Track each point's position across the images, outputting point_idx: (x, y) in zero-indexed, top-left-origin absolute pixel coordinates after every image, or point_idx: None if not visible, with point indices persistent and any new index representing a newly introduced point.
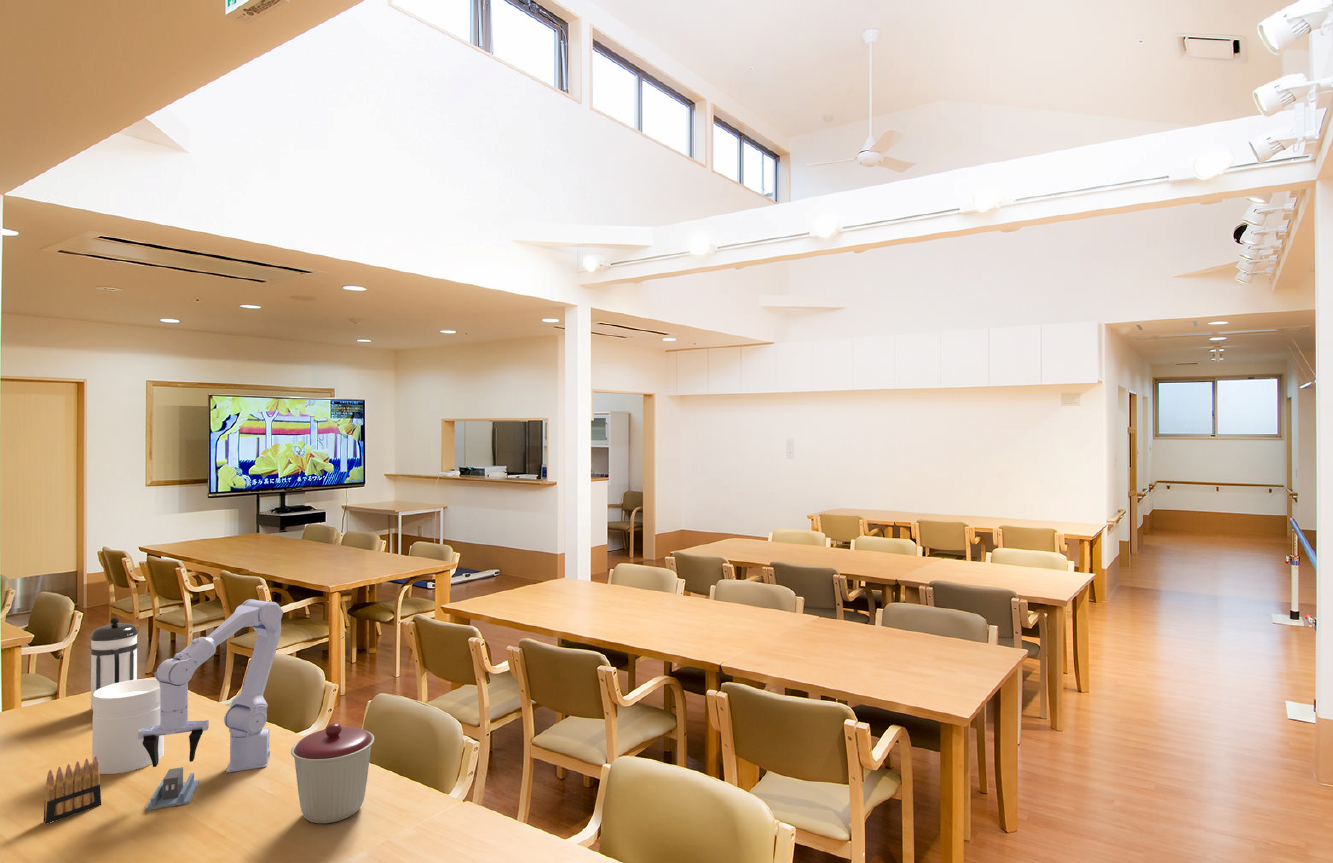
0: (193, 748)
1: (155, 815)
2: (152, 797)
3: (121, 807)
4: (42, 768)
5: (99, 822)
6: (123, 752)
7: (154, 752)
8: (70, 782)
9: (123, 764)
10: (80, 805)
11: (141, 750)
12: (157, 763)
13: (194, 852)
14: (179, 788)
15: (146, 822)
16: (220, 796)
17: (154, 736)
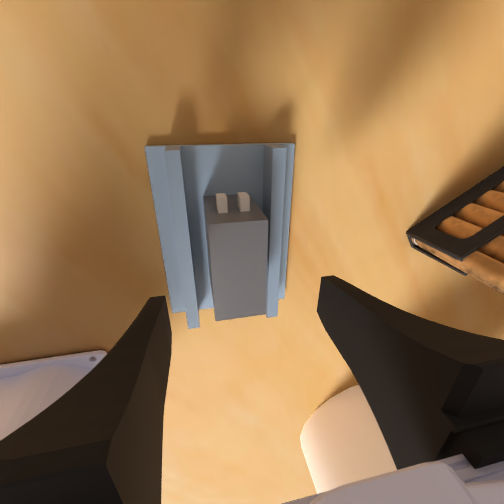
0: (120, 352)
1: (249, 79)
2: (284, 159)
3: (360, 199)
4: None
5: (413, 103)
6: None
7: (380, 319)
8: None
9: None
10: (466, 211)
11: (356, 438)
12: (321, 301)
13: None
14: (206, 233)
15: (269, 13)
16: (33, 173)
17: (477, 449)
